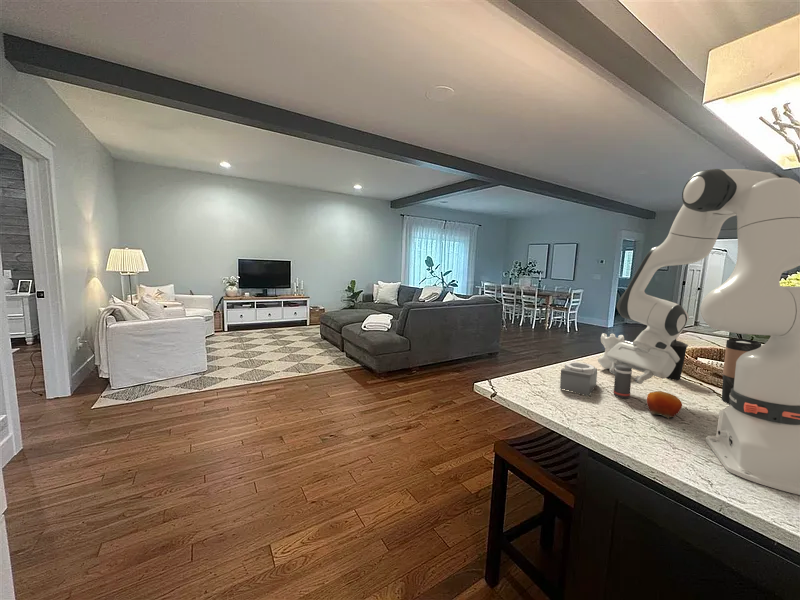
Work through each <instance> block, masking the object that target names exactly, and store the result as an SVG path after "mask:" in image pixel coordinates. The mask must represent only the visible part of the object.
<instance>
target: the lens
mask: <svg viewBox="0 0 800 600" xmlns="http://www.w3.org/2000/svg"><path fill="white" fill-rule="evenodd" d="M632 373H633V369H632V368H631V367H629V366H625V365H616V366H615V374H614V383H613V384H614V385H613V387H614V388H613V396H614V397H616V398H620V399H627V400H628V399H630V398H631V383H632Z"/></svg>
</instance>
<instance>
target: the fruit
mask: <svg viewBox="0 0 800 600" xmlns="http://www.w3.org/2000/svg"><path fill="white" fill-rule="evenodd" d="M646 406H647V407H648V411H649V412H650V413H651V414H652V416H655V415H658V416H659V415H660V416H663V417H665V418H667V419H668V420H670V418H674V417H675V416H677V415H678V413H680V411H681V410H682V408H683V404H682V401H681V399H680V398H679V397H677V396H676V395H674V394H671V393H669V392H665V391H662V390H657V391H652V392H649V393H648V394H647V396H646Z"/></svg>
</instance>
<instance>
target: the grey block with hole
mask: <svg viewBox="0 0 800 600" xmlns="http://www.w3.org/2000/svg"><path fill="white" fill-rule="evenodd" d="M597 373H598V368H596V367H595V366H594V365H592V364H590V363H588V362H587V363H586V362H580V361H567V362H566V363H565V364H564V368H561V369H560V381H559V385H560V386H559V389H560V388H561V389H565V390H569V391H573V392H576V393H575V394H577V393H580V394H579V395H582V394H584V395H583V396H586V395H588V396H587V397H589V396H590V395H591V394H590V393H592V392H593V391H594V389H595V387H596V386H597V379H598V377H597V376H598V374H597ZM595 385H596V386H595ZM593 388H594V389H593Z"/></svg>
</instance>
